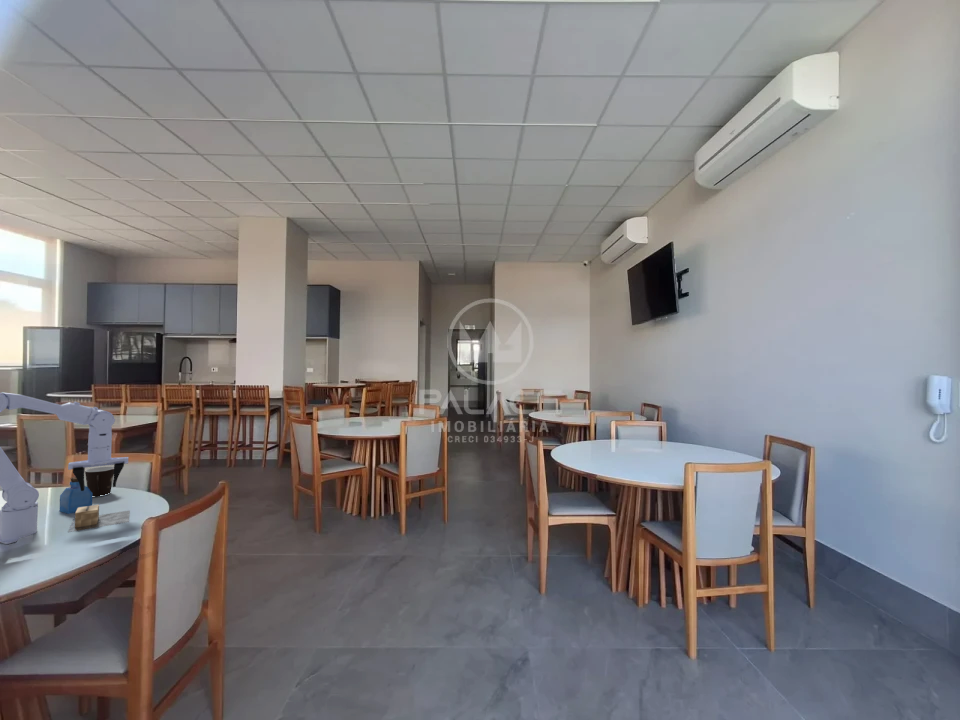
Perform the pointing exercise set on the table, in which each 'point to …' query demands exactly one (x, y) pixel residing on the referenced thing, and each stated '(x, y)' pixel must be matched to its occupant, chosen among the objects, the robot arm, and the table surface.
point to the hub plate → (104, 521)
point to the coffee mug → (99, 480)
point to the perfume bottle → (75, 497)
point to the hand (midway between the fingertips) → (98, 488)
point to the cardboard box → (86, 515)
